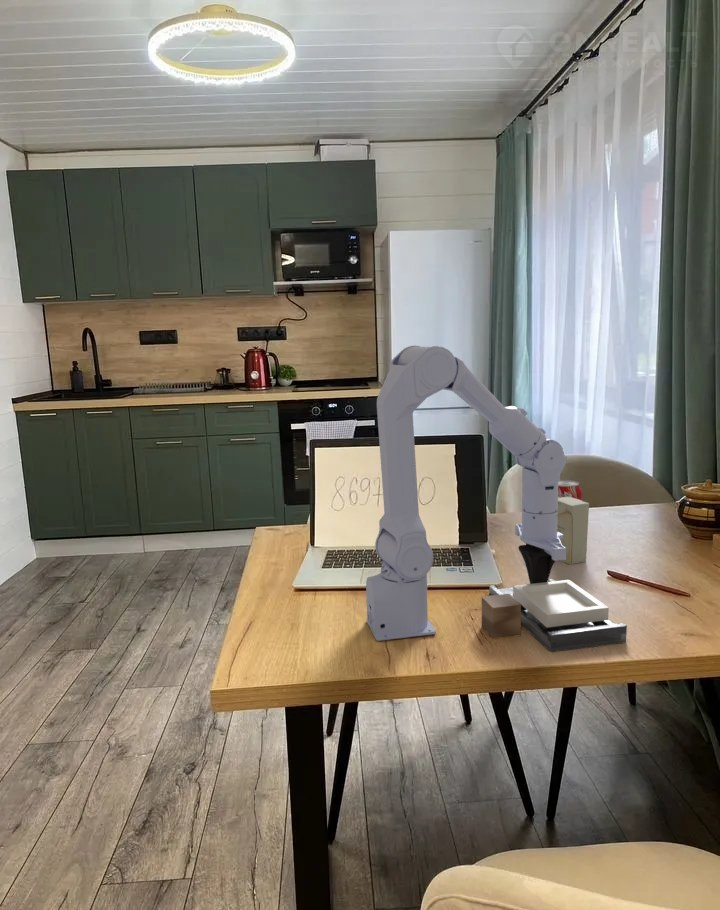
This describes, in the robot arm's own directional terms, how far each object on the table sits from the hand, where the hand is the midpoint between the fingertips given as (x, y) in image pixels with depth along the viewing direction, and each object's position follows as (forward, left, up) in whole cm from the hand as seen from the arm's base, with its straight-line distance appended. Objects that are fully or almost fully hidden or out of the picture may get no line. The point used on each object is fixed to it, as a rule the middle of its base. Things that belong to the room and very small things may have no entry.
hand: (538, 587), depth 112 cm
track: (0, -5, -3) cm, 6 cm away
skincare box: (+16, +19, -3) cm, 25 cm away
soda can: (+23, +34, -3) cm, 41 cm away
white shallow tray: (0, -7, -3) cm, 8 cm away
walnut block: (-10, -8, -3) cm, 13 cm away
